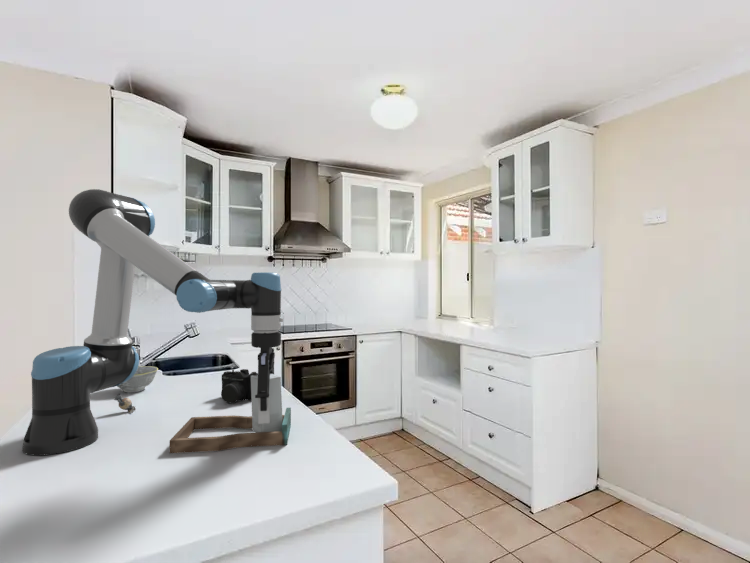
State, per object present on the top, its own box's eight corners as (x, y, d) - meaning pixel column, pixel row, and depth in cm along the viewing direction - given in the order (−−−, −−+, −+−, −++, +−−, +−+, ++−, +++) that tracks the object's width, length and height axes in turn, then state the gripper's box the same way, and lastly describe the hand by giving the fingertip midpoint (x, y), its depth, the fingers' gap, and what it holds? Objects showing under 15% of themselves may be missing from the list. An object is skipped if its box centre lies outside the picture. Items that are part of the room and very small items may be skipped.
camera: (207, 402, 141) (207, 373, 141) (228, 394, 151) (228, 367, 151) (242, 406, 137) (242, 375, 137) (261, 398, 147) (261, 369, 147)
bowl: (166, 388, 160) (166, 368, 160) (123, 398, 147) (123, 376, 147) (143, 383, 169) (143, 364, 169) (100, 392, 155) (100, 371, 155)
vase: (111, 416, 127) (111, 396, 127) (116, 412, 132) (116, 393, 133) (131, 414, 129) (131, 394, 129) (135, 410, 134) (135, 391, 134)
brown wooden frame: (169, 453, 99) (169, 432, 99) (191, 428, 116) (191, 410, 116) (286, 447, 102) (286, 426, 102) (291, 423, 120) (291, 405, 120)
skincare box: (283, 434, 108) (283, 376, 108) (260, 439, 105) (260, 380, 105) (272, 425, 115) (272, 371, 115) (250, 429, 112) (250, 374, 112)
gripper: (276, 336, 100) (277, 430, 100) (284, 326, 122) (284, 404, 122) (244, 336, 99) (244, 432, 99) (257, 327, 121) (257, 405, 121)
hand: (266, 416), depth 110 cm, fingers closed on skincare box, 9 cm apart
